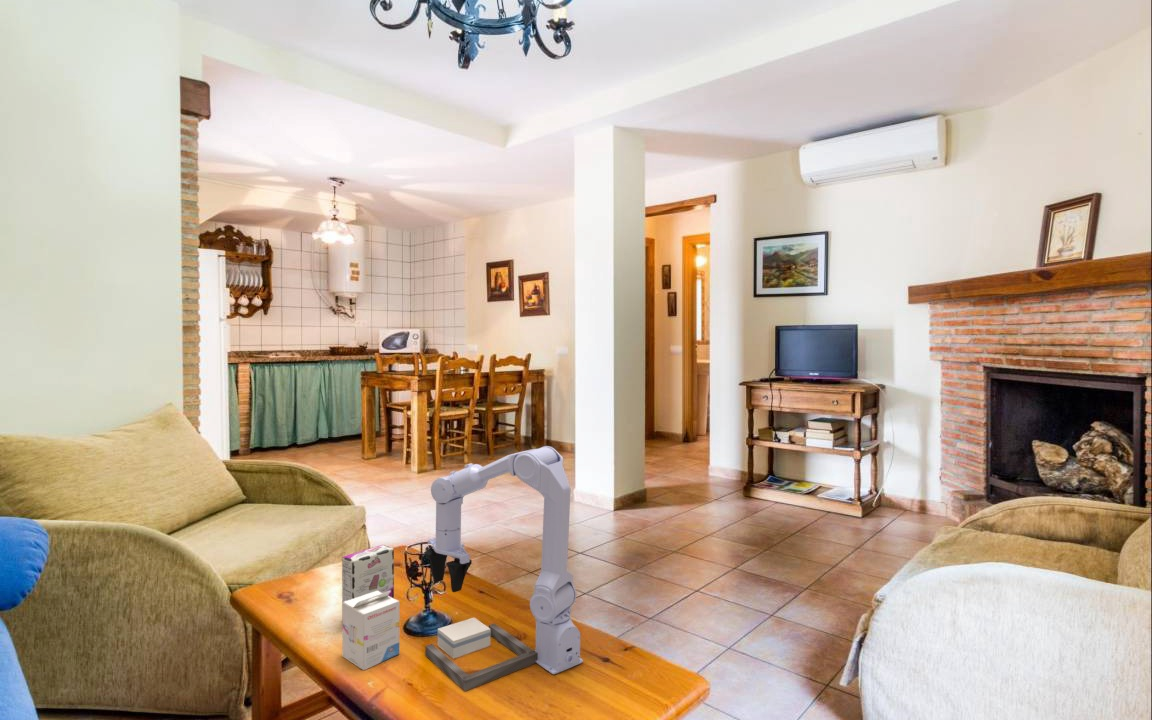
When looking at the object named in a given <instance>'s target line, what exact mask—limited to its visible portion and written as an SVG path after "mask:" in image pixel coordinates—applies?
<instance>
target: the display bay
mask: <svg viewBox="0 0 1152 720" xmlns="http://www.w3.org/2000/svg"><path fill="white" fill-rule="evenodd" d="M488 627H489V628H490V629H491V630H490V632H491V636H490V637H492V638H494V639H495V640H496V641H497V642H499V643H500V644H502V645H503V646H504V647H506V648H507V649H508V650H510V651H512V652H513V653H515V654H516V655H517V656H515V657H512V658H509V659H506V660H504V661H502V662H498V663H496V664H493V665H490V666H488V667H485V668H483V669H480V670H477V671H474V672H472V673H470V674H468V673H466V672H465V671H464V670H463V669H462V668H461V667H459V665H458V664H456V663H455V662H454V661H453V660H452V659H450V658H449V657H448V656H447V655H446V654H444V653H443V652H442V651H441V650H440V649H438V648H437V647H436V646H435V645H434V644H433V643H431V644H427V645H424V647H425V648H424V656H425V657H426V658H428V659H429V660H430V661H431V662H432V663H433V664H434V665H435V666H436V667H437V668H439V669H440V670H441V672H443V673H444V674H445V675H446V676H447V677H449V679H451V680H452V681H453V682H454V683H455V685H457V686H458V687H459V688H460V689H461V690H462V691H464V692H468V691H469V690H472V689H474V688H477V687H480V686H482V685H485V684H487V683H489V682H492V681H495V680H498V679H500V678H503V677H505V676H507V675H510V674H512V673H514V672H515V673H516V672H518V671H520V670H522V669H525V668H527V667H530V666H532V665H535V664H537V663H536V660H537V656H538V653H537V652H535V650H534V649H533V648H531V647H530V646H528V645H526V644H525V643H524V642H522V641H521V640H519V638H517V637H515V636H513V635H512V634H511V633H509V632H508V631H506V630H505V629H503V628H501V627H500V626H499V625H497V623H491V624H488Z"/></svg>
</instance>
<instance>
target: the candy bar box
mask: <svg viewBox="0 0 1152 720" xmlns="http://www.w3.org/2000/svg"><path fill="white" fill-rule="evenodd" d="M394 550H395V549H394V548H393V547H391V546H387V545H385V544H380V545H377V546H374V547H373V546H372V547H370V548H366V549H363V550H360V551H357V552H354V553H351V554H347V555H344V556H342V557H341V584H342V585H341V589H342V590H341V592H342V593H341V596H342V597H341V598H342V599H341V600H342V605H341V607H342V609H341V610H342V613H341V614H342V619H341V620H342V621H341V623H342V624H343V602H345V601H348V600H351V599H354V598H357V597H360V596H363V595H366V594H369V593H372V592H374V591H380V592H382V593H384V592H387V591H390V590H391V592H390V593H389V594H388V596H390V597H392V598H394V599H395V582H394V580H395V579H394V578H395V571H394V570H395V563H394V562H395V561H394V560H395V557H394V555H395V553H394V552H395V551H394Z"/></svg>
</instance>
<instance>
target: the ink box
mask: <svg viewBox="0 0 1152 720" xmlns="http://www.w3.org/2000/svg"><path fill="white" fill-rule="evenodd" d="M390 592H391V590H390V591H387V592H384V593H382V592H380V591H374V592H372V593H369V594H366V595H363V596H360V597H357V598H354V599H351V600H348V601H345V602H343V623H342V657H343V658H344V659H346V660H347V661H349V662H350V663H352V664H354V665H355V666H356V667H357V668H359V669H361V670H362V671H366V670H368V669H370V668H372V667H375V666H377V665H379V664H381V663H383V662H385V661H387V660H390V659H392V658H393V657H396V656H398V655H400V617H401V616H400V613H401V612H400V608H401V607H400V606H401V605H400V604H401V603H400V600H399V599H396V598H395V597H394V598H392V597H390V596H388V594H389V593H390Z"/></svg>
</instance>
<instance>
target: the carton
mask: <svg viewBox="0 0 1152 720" xmlns="http://www.w3.org/2000/svg"><path fill="white" fill-rule="evenodd" d="M490 630H491V629H490V628H489V626H488V625H486V624H484V623H482V622H481V621H480V620H479V619H477V618H476V617H471V618H466V619H465V620H461V621H458V622H455V623H452V624H449V625H446V626H442V627H439V628H437V635H436V636H437V647H439V648H440V649H441V650H442V651H443V652H444V653H446V654H447V655H448V656H449V657H450V658H452V660H453V659H456V658H460V657H463V656H465V655H468V654H471V653H474V652H477V651H480V650H483V649H485V648H488V647H491V637H492V636H491V632H490Z"/></svg>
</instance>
